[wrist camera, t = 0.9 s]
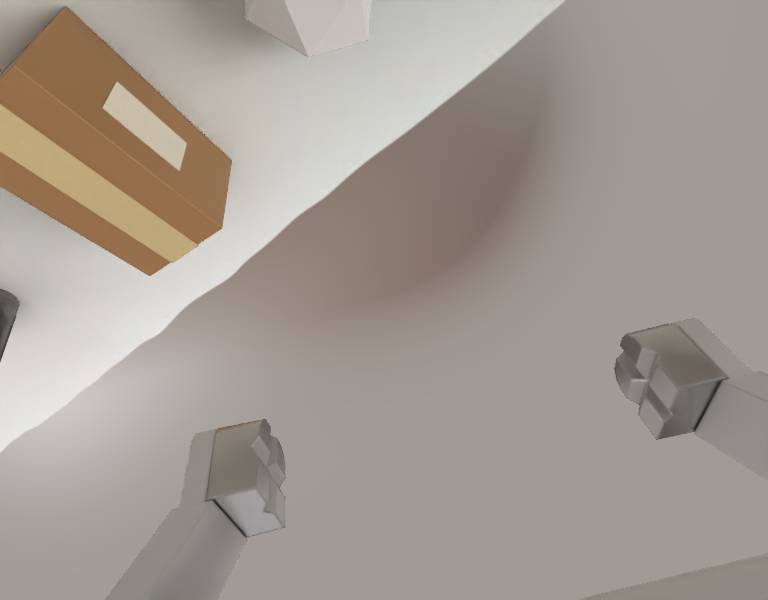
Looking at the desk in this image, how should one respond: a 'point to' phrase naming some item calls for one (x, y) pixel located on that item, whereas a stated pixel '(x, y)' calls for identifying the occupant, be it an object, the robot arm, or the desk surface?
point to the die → (312, 22)
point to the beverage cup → (6, 317)
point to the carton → (106, 150)
